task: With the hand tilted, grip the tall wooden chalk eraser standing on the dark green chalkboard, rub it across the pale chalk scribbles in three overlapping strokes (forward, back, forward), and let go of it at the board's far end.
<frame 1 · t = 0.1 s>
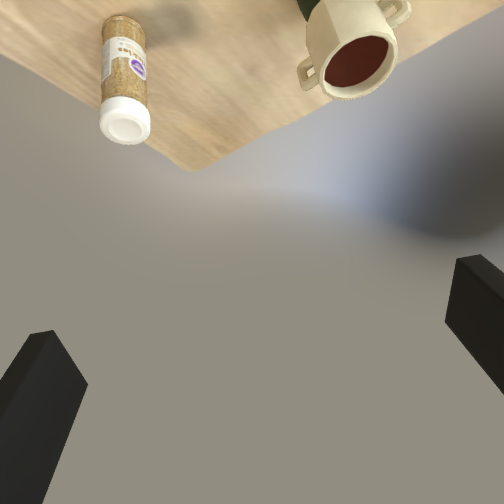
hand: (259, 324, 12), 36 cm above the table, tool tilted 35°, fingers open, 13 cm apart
sprinkles bottle: (123, 33, 37), on the table
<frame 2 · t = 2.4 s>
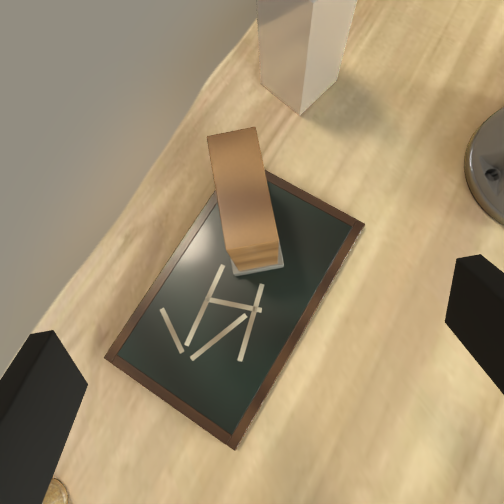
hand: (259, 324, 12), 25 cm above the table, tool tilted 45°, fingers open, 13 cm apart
soap dispenser: (305, 88, 42), on the table
chalkboard: (237, 290, 37), on the table
eraser: (250, 227, 37), point 1 cm above the table, touching chalkboard
sprinkles bottle: (48, 500, 34), on the table
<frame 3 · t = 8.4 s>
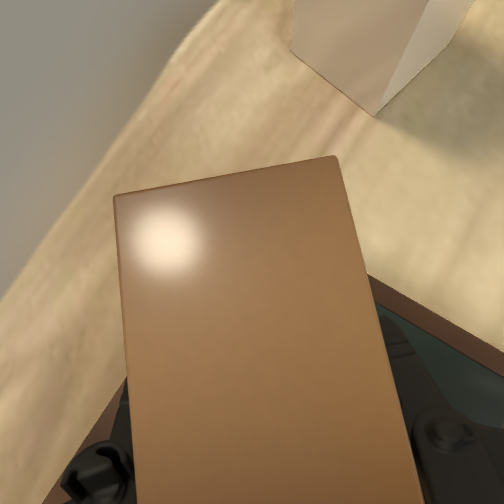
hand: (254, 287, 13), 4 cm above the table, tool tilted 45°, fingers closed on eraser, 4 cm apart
soap dispenser: (381, 62, 20), on the table
eraser: (271, 378, 16), point 1 cm above the table, touching chalkboard, gripper
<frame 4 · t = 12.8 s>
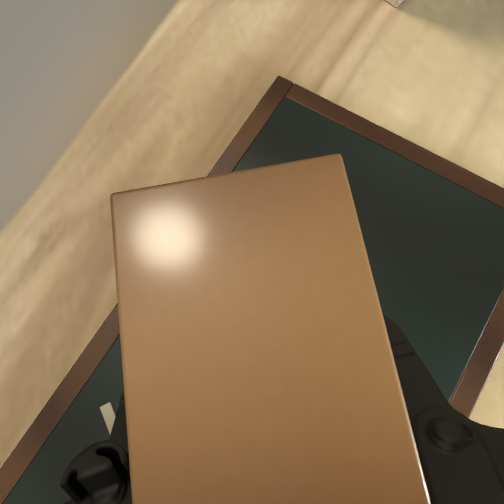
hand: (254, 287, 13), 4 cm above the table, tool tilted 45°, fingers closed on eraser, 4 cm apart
chalkboard: (278, 361, 16), on the table
eraser: (271, 382, 15), point 1 cm above the table, touching gripper
when the fingers open (4 cm above the table, at t = 17.5 s): eraser stays where it is, resting on chalkboard.
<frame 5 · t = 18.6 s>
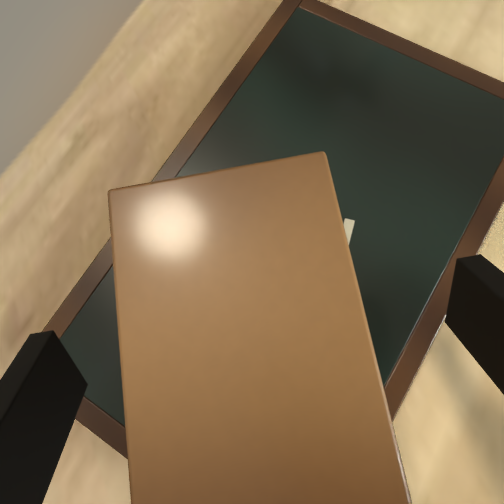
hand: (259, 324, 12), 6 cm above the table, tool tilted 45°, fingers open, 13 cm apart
chalkboard: (295, 236, 18), on the table
eraser: (267, 375, 16), point 1 cm above the table, touching chalkboard
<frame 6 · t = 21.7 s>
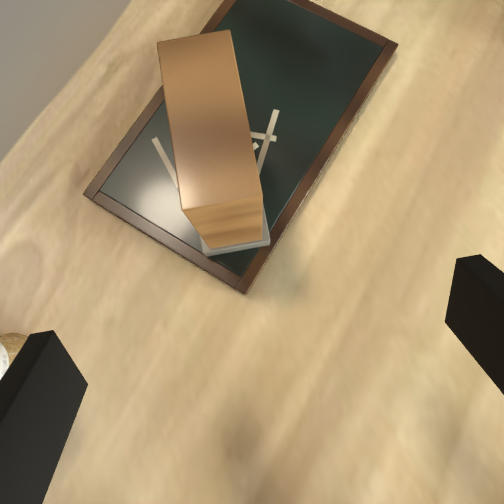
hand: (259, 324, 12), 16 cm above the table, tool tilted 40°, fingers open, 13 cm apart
chalkboard: (246, 122, 30), on the table
eraser: (227, 192, 28), point 1 cm above the table, touching chalkboard
sprinkles bottle: (14, 361, 27), on the table
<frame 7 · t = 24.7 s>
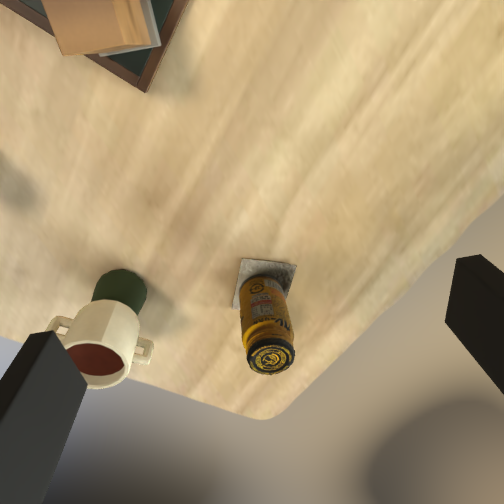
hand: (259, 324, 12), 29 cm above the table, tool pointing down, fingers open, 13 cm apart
cream and green goblet: (123, 285, 45), on the table
condiment: (262, 285, 47), on the table
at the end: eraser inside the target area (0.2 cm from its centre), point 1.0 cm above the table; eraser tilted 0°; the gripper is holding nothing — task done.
